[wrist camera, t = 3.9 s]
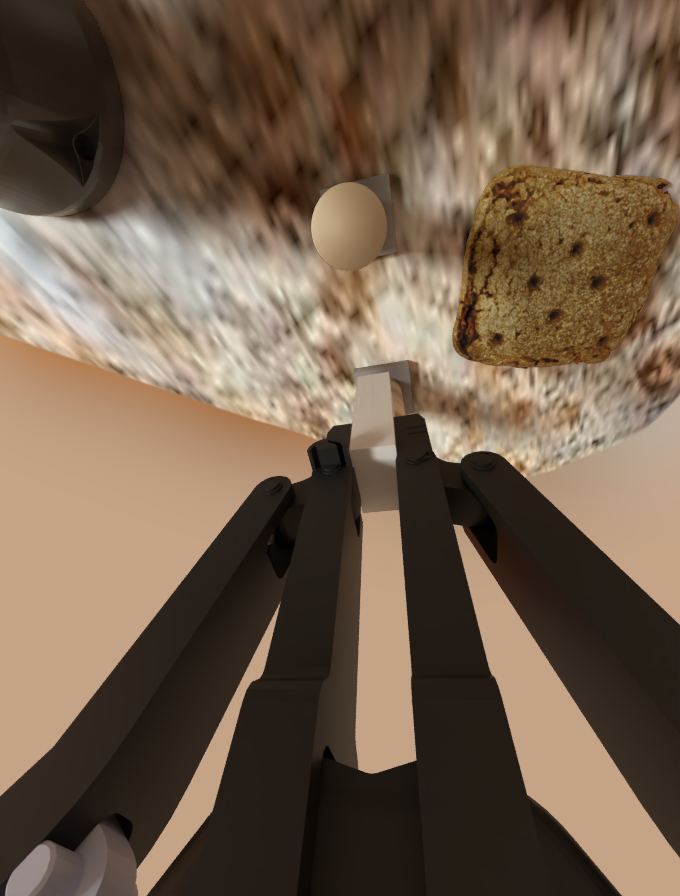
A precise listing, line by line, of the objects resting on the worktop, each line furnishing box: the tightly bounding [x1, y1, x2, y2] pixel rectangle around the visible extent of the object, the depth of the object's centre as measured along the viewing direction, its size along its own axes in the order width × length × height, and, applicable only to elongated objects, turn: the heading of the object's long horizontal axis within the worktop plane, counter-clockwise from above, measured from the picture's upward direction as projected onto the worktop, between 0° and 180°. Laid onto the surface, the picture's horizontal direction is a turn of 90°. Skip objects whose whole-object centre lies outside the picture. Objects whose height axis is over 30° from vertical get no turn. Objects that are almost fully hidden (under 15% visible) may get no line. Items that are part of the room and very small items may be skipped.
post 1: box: [311, 173, 397, 271], centre depth 22 cm, size 5×5×15 cm
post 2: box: [354, 360, 414, 417], centre depth 29 cm, size 5×5×15 cm
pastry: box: [453, 165, 678, 369], centre depth 28 cm, size 17×17×3 cm
